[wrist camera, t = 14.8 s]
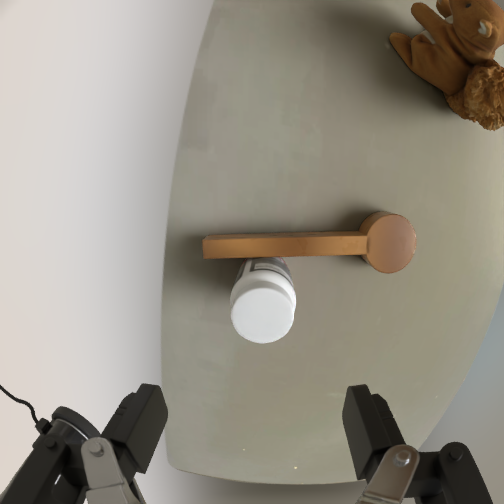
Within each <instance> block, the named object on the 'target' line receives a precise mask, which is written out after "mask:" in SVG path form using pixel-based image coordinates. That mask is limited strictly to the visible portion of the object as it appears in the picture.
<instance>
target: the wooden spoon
mask: <svg viewBox="0 0 504 504" xmlns="http://www.w3.org/2000/svg"><path fill="white" fill-rule="evenodd" d="M202 247H203V258H204V259H219V258H258V257H293V256H326V255H358V254H360V255H361V257H362V258H363V259H364V260H365V261H366V262H367V263H368V264H370V265H371V266H372V267H373V268H374V269H376V270H377V271H379V272H382V273H394V272H397V271H399V270H401V269H403V268H404V267H405V266H406V265H407V264H408V263H409V262H410V260H411V259H412V257H413V255H414V252H415V249H416V234H415V231H414V228H413V226H412V225H411V223H410V222H409V221H408V220H407V219H406V218H404V217H403V216H401V215H397V214H393V213H390V212H384V211H381V212H376V213H373V214H371V215H370V216H368V217H367V218H366V219H365V220H364V221H363V223H362V224H361V226H360V228H359V231H331V232H286V233H253V234H224V235H208V236H207V237H206V238H204V239H203V240H202Z"/></svg>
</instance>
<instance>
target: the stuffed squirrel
mask: <svg viewBox="0 0 504 504" xmlns="http://www.w3.org/2000/svg"><path fill="white" fill-rule="evenodd" d="M436 7H437V10H438V11H439V13H440V14H441V15H442V16H444V18H445V20H443V19H442V18H441V17H440V16H439V15H438V14H436V13H435V12H434V11H433V10H432V9H431V8H429V7H428V6H427V5H426V4H423V3H414V4H413V5H412V8H411V13H412V15H413V16H414V18H415V19H416V20H417V21H418V22H419V23H420V24H421V25H422V26H423V27H424V28H425V29H426V30H425V31H423V32H421V33H420V34H418V35H416V36H415V37H413V39H412V38H411V37H409V36H407V35H405V34H402V33H391V35H390V38H389V40H390V42H391V44H392V45H393V47H394V48H395V50H396V51H397V52H398V54H399V55H400V56H401V58H402V59H403V60H404V62H405V63H406V64H407V66H408V67H409V68H410V69H411V70H412V71H413V72H414V73H415V74H417V75H418V76H420V77H421V78H423V79H424V80H426V81H428V82H429V83H431V84H433V85H434V86H436V87H438V88H439V89H441V90H442V91H443V94H444V96H445V98H446V101H447V102H448V103H449V106H450V108H452V109H453V112H455V113H456V114H458V115H459V116H460V117H461V118H463V119H465V120H466V119H469V120H472V121H473V122H475V121H478V122H479V124H480V125H481V126H483V128H484V129H487V130H488V129H489V130H490V131H491V130H494V131H495V129H496V130H497V129H499V128H500V126H501V127H503V126H504V68H503V67H501V66H500V65H499V64H498V63H497V62H496V61H495V60H493V58H494V55H495V50H496V49H497V48H498V47H500V46H501V45H503V44H504V11H503V10H502V9H501V8H500V7H499V6H498V5H497V4H496V3H495V2H493V1H492V0H437V2H436Z"/></svg>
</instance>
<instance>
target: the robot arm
mask: <svg viewBox="0 0 504 504" xmlns="http://www.w3.org/2000/svg"><path fill="white" fill-rule="evenodd" d="M0 389H1V390H2V391H3V392H4V393H5V394H6V395H8V396H9V397H10V398H12V399H13V400H15V401H16V402H19V403H22V404H25V405H27V406H28V407H29V408H30V410H31V414H32V418H33V420H34V421H35V423H36V425H35V427H36V429H37V430H38V432H39V433H40V436H39V437H38V438H37V440H36V441H35V442H34V443H33V445H32V447H33V448H34V449H33V451H32V452H31V453H30V455H29V456H28V457H27V459H26V460H25V461H24V463H23V464H22V466H21V467H20V468H19V470H18V471H17V472H16V474H15V476H14V477H13V478H12V480H11V481H10V483H9V485H8V486H7V487H6V489H5V490H4V491H3V492H2V494H1V495H0V504H83V503H84V501H85V498H87V501H88V504H146V502H145V500H144V498H143V496H142V494H141V492H140V489H139V487H138V485H137V483H136V480H135V479H134V475H135V473H136V472H139V473H143V474H145V473H146V471H147V468H148V466H149V463H150V461H151V458H152V456H153V454H154V451H155V448H156V446H157V444H158V441H159V439H160V436H161V434H162V432H163V429H164V427H165V424H166V422H167V418H168V410H167V406H166V403H165V400H164V397H163V394H162V391H161V388H160V386H158V385H151V384H141V386H140V387H139V389H138V391H137V392H136V393H133V392H132V393H131V394H129V395H128V396H126V397H125V398H124V399H123V400H122V402H121V404H120V405H119V408H117V410H116V412H115V414H114V415H113V416H112V418H111V419H110V421H109V422H108V424H107V426H106V427H105V429H104V431H103V432H102V434H101V435H100V437H94V438H89V437H88V436H87V435H86V434H85V433H84V432H83V431H82V430H81V429H80V428H78V427H77V426H76V425H74V424H73V423H71V422H70V421H68V420H66V419H63V418H57V419H55V418H53V419H52V421H51V422H49V421H48V420H46V419H44V418H41V419H40V421H38V420H37V418H36V416H35V411H34V408H33V407H32V405H31V404H30V403H28V402H26V401H24V400H21V399H18V398H15V397H14V396H13V395H11V394H10V393H9V392H8V391H6V390H5V389H4V388H3V387H2V386H1V385H0ZM342 419H343V425H344V428H345V432H346V436H347V440H348V444H349V448H350V452H351V456H352V460H353V464H354V468H355V472H356V476H357V480H362V479H366V481H367V486H366V488H365V489H364V491H363V493H362V494H361V496H360V497H359V499H358V500H357V502H356V503H355V504H401V502H402V500H403V498H412V497H414V499H415V502H416V504H493V502H492V500H491V497H490V495H489V492H488V490H487V487H486V485H485V483H484V481H483V478H482V476H481V474H480V472H479V469H478V467H477V465H476V463H475V461H474V459H473V457H472V455H471V453H470V451H469V449H468V448H467V446H466V445H464V444H462V443H460V442H451V443H448V444H446V445H445V446H444V447H443V448H442V449H441V450H440V451H438V452H418V451H417V450H416V449H415V448H413V447H412V446H409V445H406V443H405V441H404V439H403V437H402V435H401V432H400V430H399V428H398V426H397V423H396V421H395V419H394V418H393V415H392V413H391V411H390V408H389V406H388V404H387V402H386V400H385V399H383V398H382V397H381V396H380V395H379V394H373V395H371V393H370V391H369V389H368V387H367V385H366V384H363V385H356V386H349V387H348V389H347V393H346V398H345V402H344V407H343V412H342Z"/></svg>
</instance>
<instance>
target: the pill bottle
mask: <svg viewBox="0 0 504 504" xmlns="http://www.w3.org/2000/svg"><path fill="white" fill-rule="evenodd" d="M230 306H231V321H232V324H233V326H234V328H235V330H236V331H237V332H238V333H239V334H240V335H241V336H242V337H243V338H245V339H247V340H249V341H252V342H256V343H270V342H273V341H276V340H278V339H280V338H282V337H283V336H284V335H285V334H286V333H287V332H288V331H289V329H290V328H291V326H292V323H293V319H294V311H295V307H296V296H295V291H294V287H293V283H292V278H291V275H290V271H289V268H288V266H287V264H286V263H285V261H284V260H283V259H282V258H280V257H258V258H247V259H246V260H245V261H244V262H243V263H242V265H241V267H240V269H239V272H238V274H237V277H236V280H235V283H234V286H233V288H232V291H231V296H230Z"/></svg>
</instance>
